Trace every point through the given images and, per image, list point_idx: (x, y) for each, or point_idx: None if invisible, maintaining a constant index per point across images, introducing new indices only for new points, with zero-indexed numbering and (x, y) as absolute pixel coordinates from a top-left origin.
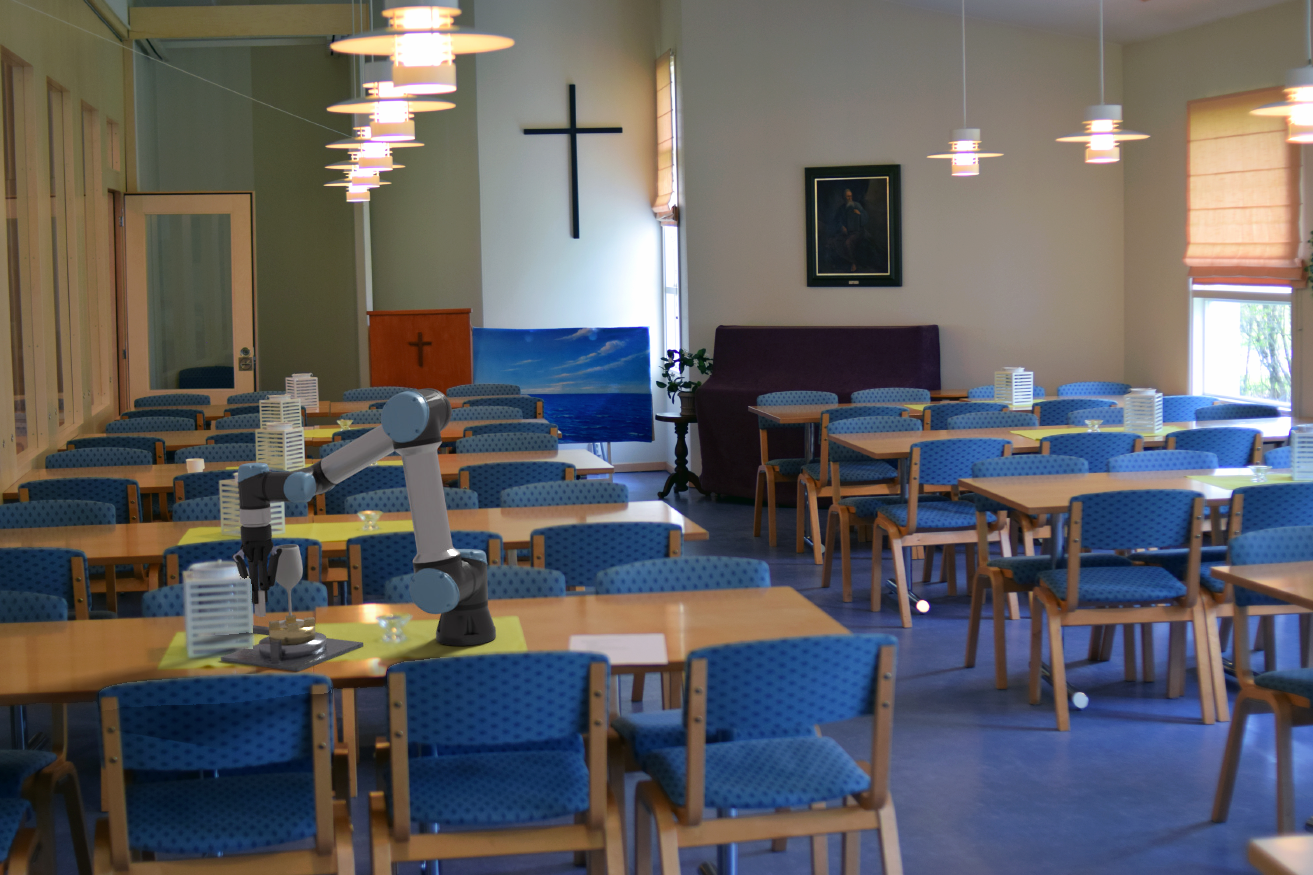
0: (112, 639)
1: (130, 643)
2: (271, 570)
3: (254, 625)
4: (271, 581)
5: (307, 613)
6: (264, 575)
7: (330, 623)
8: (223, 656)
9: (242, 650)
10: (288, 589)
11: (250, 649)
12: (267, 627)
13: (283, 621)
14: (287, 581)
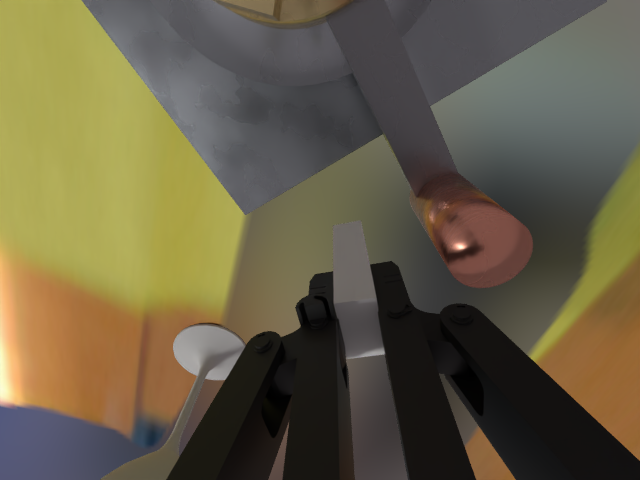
0: (622, 436)
1: (622, 391)
2: (233, 469)
3: (405, 166)
4: (265, 361)
5: (157, 404)
6: (324, 412)
7: (101, 290)
8: (592, 3)
9: (479, 63)
10: (171, 448)
11: (447, 56)
12: (371, 79)
13: (229, 359)
14: (157, 473)
